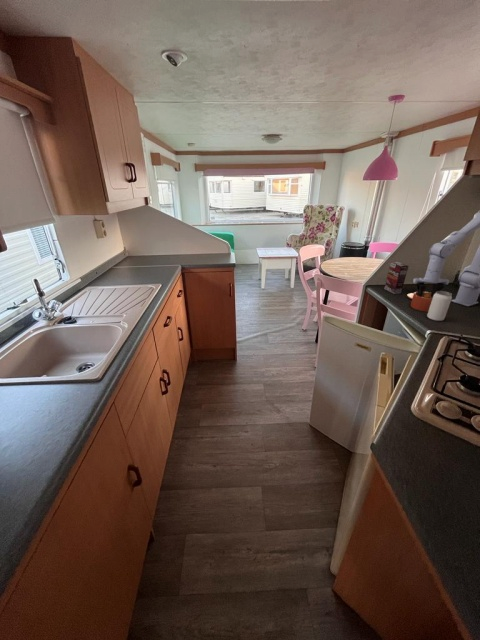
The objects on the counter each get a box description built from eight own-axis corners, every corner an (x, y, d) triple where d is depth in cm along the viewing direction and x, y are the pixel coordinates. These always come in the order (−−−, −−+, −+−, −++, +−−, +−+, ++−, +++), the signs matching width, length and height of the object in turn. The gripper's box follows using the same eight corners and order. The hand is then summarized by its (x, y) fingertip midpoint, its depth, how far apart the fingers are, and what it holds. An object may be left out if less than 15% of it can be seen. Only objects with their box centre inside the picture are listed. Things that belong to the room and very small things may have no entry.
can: (446, 321, 116) (456, 296, 110) (430, 320, 117) (438, 295, 112) (439, 315, 121) (448, 290, 116) (424, 314, 123) (432, 290, 117)
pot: (418, 302, 136) (422, 290, 133) (439, 309, 128) (444, 296, 125) (405, 305, 132) (409, 293, 129) (426, 313, 124) (430, 300, 121)
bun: (433, 301, 127) (436, 293, 125) (426, 303, 125) (429, 294, 123) (422, 297, 132) (425, 289, 130) (415, 299, 129) (418, 291, 128)
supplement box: (383, 289, 154) (390, 262, 147) (391, 288, 155) (397, 261, 148) (393, 294, 147) (401, 265, 140) (401, 293, 147) (409, 265, 140)
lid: (415, 293, 147) (417, 285, 145) (436, 300, 138) (438, 291, 136) (402, 297, 143) (404, 289, 141) (423, 304, 134) (425, 295, 132)
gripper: (446, 268, 124) (437, 295, 130) (413, 267, 126) (406, 294, 132) (455, 272, 118) (445, 300, 124) (420, 271, 120) (412, 299, 126)
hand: (425, 297), depth 128 cm, fingers closed on bun, 5 cm apart
